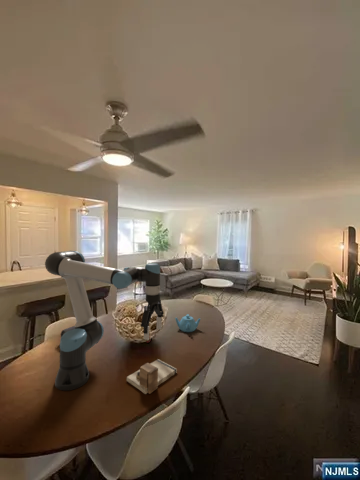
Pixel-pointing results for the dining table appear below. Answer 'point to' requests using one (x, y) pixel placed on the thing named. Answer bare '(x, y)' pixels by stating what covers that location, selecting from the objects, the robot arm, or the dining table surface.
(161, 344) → the dining table surface
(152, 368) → the brown rectangular block
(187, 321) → the teapot
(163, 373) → the board
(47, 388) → the dining table surface
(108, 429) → the dining table surface
